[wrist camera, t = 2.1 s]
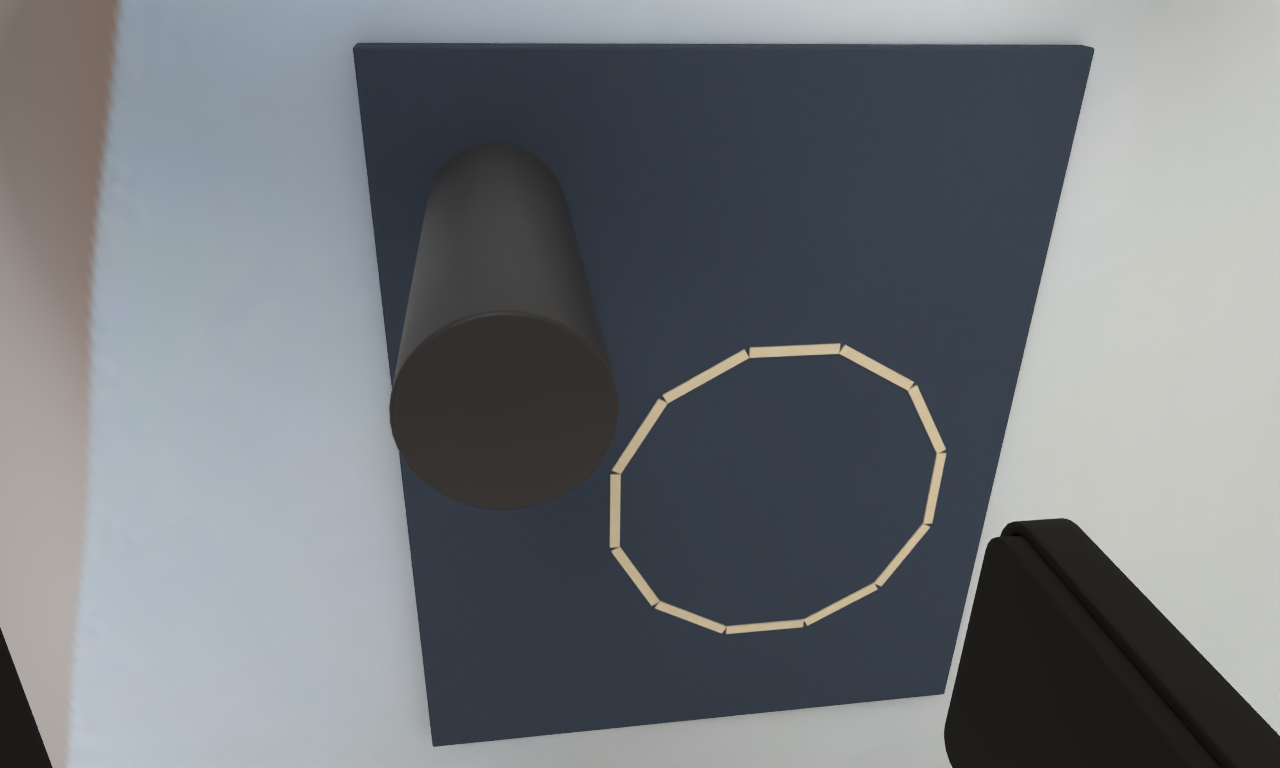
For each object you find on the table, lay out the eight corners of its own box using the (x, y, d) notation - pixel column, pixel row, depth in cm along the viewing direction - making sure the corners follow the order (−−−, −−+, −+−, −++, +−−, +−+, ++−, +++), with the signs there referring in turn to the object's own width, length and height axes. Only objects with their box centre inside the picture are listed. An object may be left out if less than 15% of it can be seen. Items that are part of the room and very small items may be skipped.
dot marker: (424, 132, 22) (376, 316, 12) (560, 130, 22) (622, 306, 12) (434, 262, 23) (400, 519, 13) (563, 258, 24) (618, 504, 14)
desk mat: (355, 42, 21) (351, 46, 21) (1082, 44, 24) (1097, 48, 23) (433, 733, 31) (432, 749, 31) (937, 682, 34) (945, 695, 33)
